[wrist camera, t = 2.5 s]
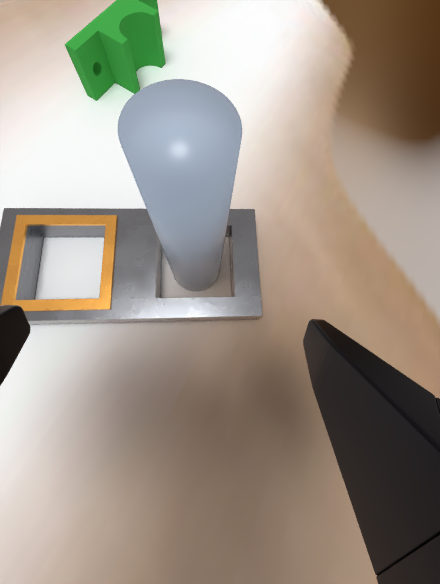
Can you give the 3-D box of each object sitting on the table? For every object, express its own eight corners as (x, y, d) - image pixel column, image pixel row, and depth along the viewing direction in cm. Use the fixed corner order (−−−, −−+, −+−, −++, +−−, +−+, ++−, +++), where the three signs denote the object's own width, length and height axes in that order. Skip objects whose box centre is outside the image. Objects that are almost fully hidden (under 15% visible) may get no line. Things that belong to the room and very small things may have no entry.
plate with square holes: (250, 221, 23) (254, 207, 21) (256, 319, 21) (262, 315, 19) (21, 221, 22) (2, 206, 20) (4, 325, 20) (-21, 321, 18)
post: (227, 260, 22) (262, 110, 9) (205, 299, 21) (205, 201, 8) (187, 239, 22) (160, 62, 9) (163, 277, 21) (92, 143, 8)
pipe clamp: (118, 115, 25) (99, 65, 21) (88, 97, 26) (64, 44, 21) (181, 48, 28) (177, -9, 23) (154, 33, 28) (144, -26, 24)
